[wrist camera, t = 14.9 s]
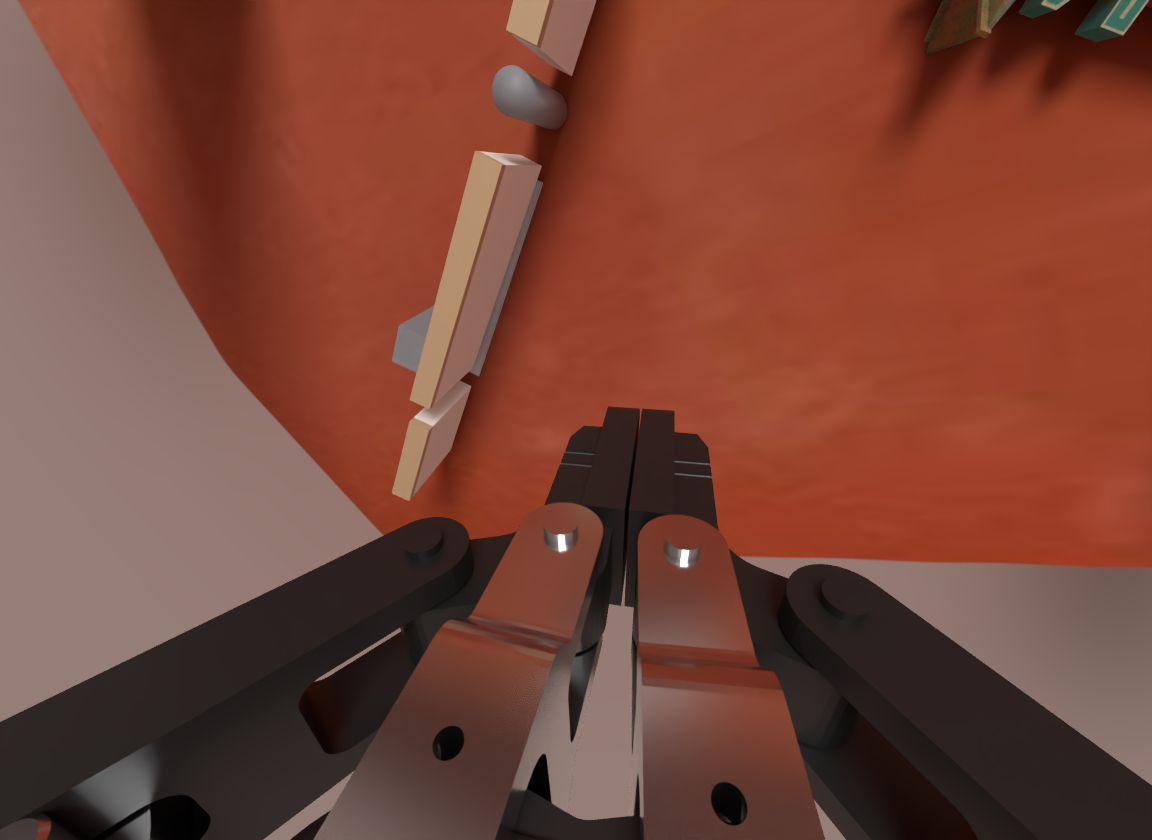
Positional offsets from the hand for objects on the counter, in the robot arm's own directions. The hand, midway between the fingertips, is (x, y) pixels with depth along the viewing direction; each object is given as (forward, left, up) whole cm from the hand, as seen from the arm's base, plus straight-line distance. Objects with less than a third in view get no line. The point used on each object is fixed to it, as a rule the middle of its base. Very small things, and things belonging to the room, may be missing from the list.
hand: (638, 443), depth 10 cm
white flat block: (-11, -6, -23) cm, 26 cm away
